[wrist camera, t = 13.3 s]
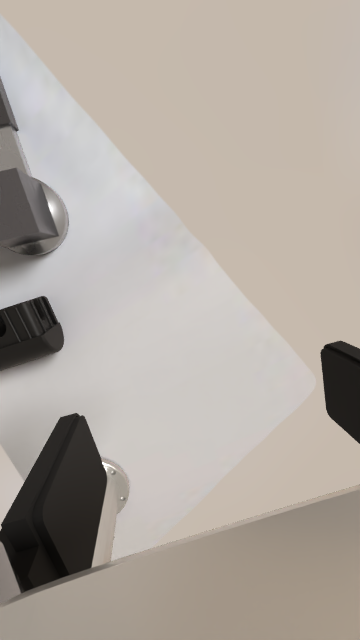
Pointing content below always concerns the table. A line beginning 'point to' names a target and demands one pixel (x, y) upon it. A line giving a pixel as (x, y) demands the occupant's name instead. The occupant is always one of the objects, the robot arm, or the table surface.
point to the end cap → (28, 332)
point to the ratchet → (6, 153)
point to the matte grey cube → (23, 210)
